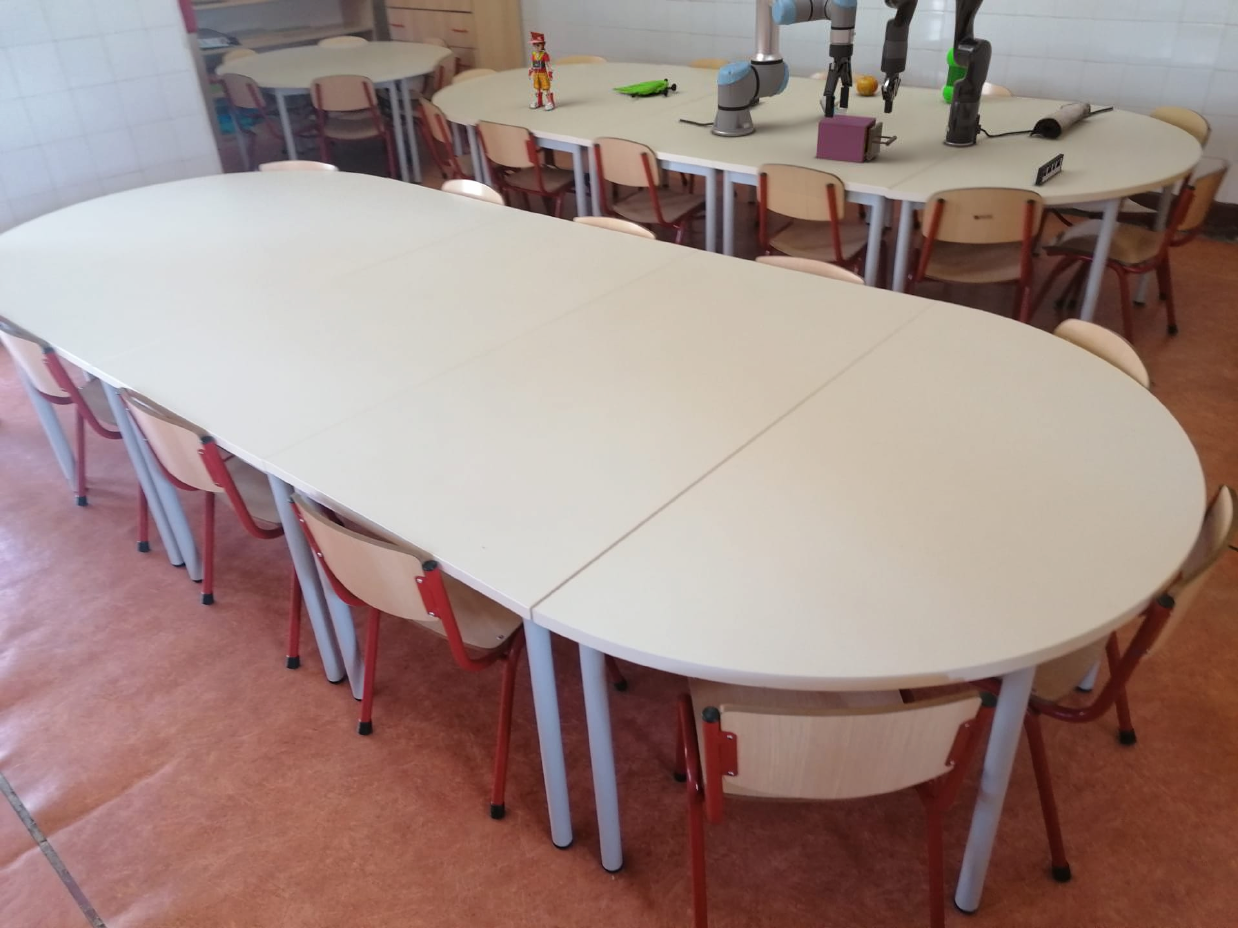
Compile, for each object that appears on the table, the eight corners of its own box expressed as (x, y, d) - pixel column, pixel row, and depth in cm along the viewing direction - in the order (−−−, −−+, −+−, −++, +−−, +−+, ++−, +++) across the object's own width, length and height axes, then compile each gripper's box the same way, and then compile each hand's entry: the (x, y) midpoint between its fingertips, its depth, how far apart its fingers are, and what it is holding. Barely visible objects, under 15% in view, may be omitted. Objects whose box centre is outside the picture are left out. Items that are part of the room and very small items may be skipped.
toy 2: (686, 85, 398) (631, 84, 414) (685, 72, 395) (629, 72, 411) (651, 104, 381) (596, 103, 397) (650, 92, 378) (594, 91, 394)
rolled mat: (1058, 107, 328) (1083, 90, 320) (1071, 128, 329) (1097, 111, 320) (1025, 130, 311) (1051, 112, 303) (1040, 152, 311) (1065, 134, 303)
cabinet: (872, 153, 305) (876, 118, 298) (861, 162, 297) (865, 126, 290) (827, 149, 312) (830, 114, 305) (816, 157, 304) (818, 122, 298)
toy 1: (525, 109, 381) (517, 32, 364) (534, 104, 388) (527, 28, 371) (550, 110, 377) (543, 32, 360) (559, 105, 384) (553, 28, 367)
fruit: (851, 87, 368) (863, 69, 365) (853, 91, 376) (865, 73, 373) (868, 99, 367) (880, 81, 364) (870, 102, 374) (882, 84, 371)
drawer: (895, 154, 300) (899, 123, 294) (886, 162, 293) (890, 131, 288) (837, 147, 309) (840, 118, 304) (827, 155, 302) (830, 125, 297)
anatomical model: (814, 91, 345) (840, 84, 344) (817, 118, 351) (843, 112, 350) (825, 101, 333) (851, 93, 332) (828, 129, 339) (854, 122, 338)
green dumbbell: (973, 101, 354) (984, 32, 339) (955, 106, 349) (966, 36, 335) (952, 97, 361) (962, 29, 346) (934, 102, 356) (944, 33, 342)
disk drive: (744, 111, 360) (759, 102, 370) (744, 104, 358) (760, 95, 368) (721, 109, 365) (737, 100, 375) (721, 102, 363) (737, 93, 373)
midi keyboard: (1039, 185, 269) (1043, 168, 266) (1035, 184, 270) (1038, 168, 267) (1060, 170, 279) (1064, 154, 277) (1056, 169, 280) (1060, 153, 277)
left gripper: (839, 51, 276) (833, 122, 288) (866, 36, 293) (860, 104, 305) (816, 50, 280) (811, 120, 291) (844, 36, 297) (838, 103, 309)
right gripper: (899, 60, 274) (892, 119, 284) (912, 51, 283) (905, 109, 293) (875, 58, 277) (869, 116, 287) (889, 50, 286) (883, 107, 296)
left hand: (836, 112), depth 298 cm, fingers open, 13 cm apart
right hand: (887, 112), depth 290 cm, fingers closed
